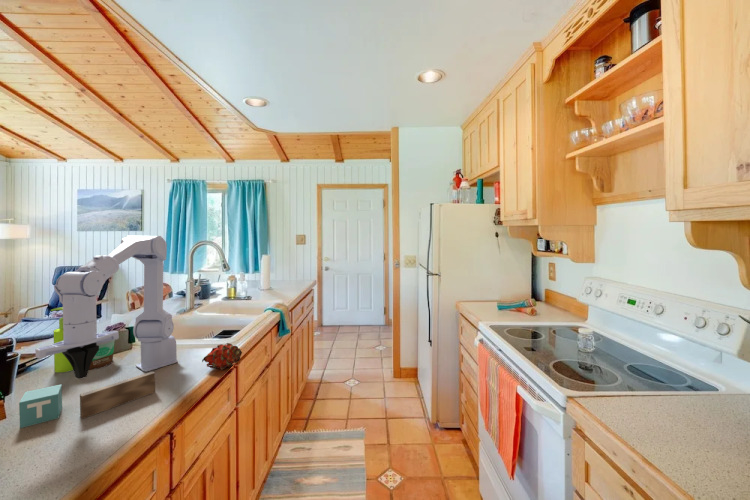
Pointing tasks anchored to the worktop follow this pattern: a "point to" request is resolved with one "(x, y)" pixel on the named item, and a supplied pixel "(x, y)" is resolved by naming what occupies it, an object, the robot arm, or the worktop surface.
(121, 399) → the walnut block
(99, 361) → the food container
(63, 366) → the soap dispenser
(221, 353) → the dragon fruit
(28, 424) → the teal cube
